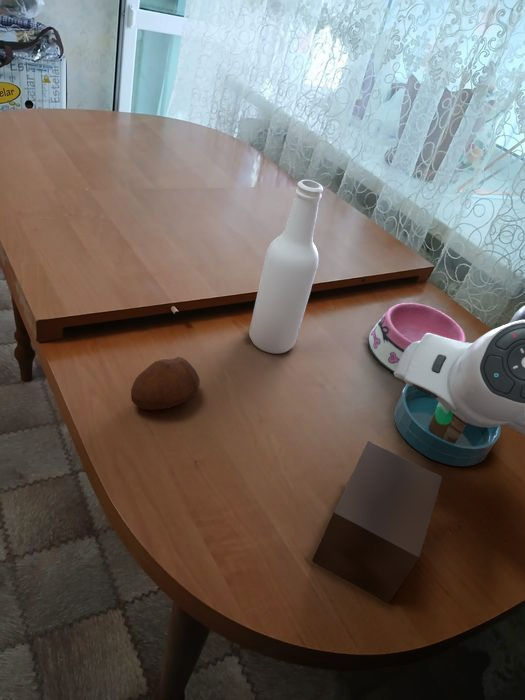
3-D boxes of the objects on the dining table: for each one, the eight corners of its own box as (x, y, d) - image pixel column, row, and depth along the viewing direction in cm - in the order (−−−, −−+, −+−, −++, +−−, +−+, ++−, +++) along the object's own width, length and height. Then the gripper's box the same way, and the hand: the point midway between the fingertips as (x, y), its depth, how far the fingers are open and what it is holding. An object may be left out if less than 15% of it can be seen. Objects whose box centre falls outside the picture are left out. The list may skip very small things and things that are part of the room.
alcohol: (238, 332, 100) (270, 174, 82) (275, 321, 105) (313, 170, 87) (267, 360, 95) (307, 199, 77) (304, 348, 100) (350, 194, 82)
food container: (436, 400, 95) (460, 356, 89) (470, 418, 93) (496, 374, 87) (410, 437, 86) (434, 391, 80) (445, 458, 84) (473, 413, 78)
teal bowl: (493, 422, 94) (505, 403, 91) (481, 484, 82) (494, 465, 79) (406, 383, 98) (415, 364, 95) (381, 437, 86) (391, 417, 83)
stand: (413, 523, 74) (442, 476, 68) (388, 603, 64) (419, 557, 58) (346, 488, 76) (368, 440, 70) (311, 560, 66) (333, 512, 60)
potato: (211, 399, 85) (218, 361, 80) (152, 433, 77) (156, 393, 72) (179, 373, 88) (183, 334, 83) (120, 403, 81) (121, 362, 76)
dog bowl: (472, 392, 99) (488, 364, 95) (374, 377, 97) (387, 347, 93) (446, 333, 114) (460, 306, 110) (361, 318, 112) (371, 290, 108)
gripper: (592, 402, 59) (550, 413, 72) (414, 326, 64) (405, 349, 77) (570, 455, 58) (531, 456, 72) (391, 374, 63) (386, 389, 77)
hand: (464, 400), depth 74 cm, fingers open, 8 cm apart
